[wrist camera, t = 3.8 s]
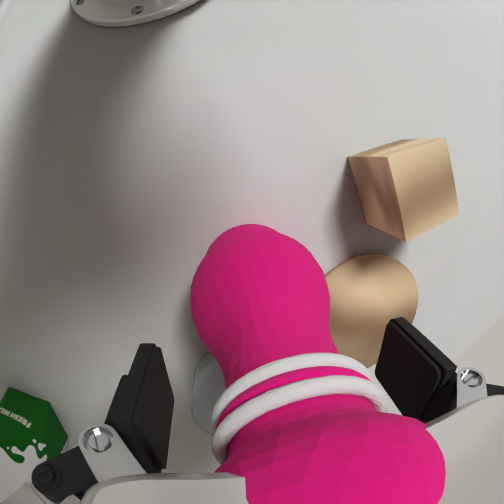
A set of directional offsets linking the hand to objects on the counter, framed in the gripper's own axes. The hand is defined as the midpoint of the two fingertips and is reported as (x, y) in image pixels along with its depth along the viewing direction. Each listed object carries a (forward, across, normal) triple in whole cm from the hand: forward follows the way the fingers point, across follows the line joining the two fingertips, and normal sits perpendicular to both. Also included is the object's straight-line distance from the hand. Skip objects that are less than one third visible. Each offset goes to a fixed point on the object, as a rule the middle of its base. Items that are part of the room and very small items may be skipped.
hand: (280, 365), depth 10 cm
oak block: (+9, -10, -7) cm, 15 cm away
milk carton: (+10, +27, +17) cm, 34 cm away
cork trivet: (+9, -9, +4) cm, 14 cm away
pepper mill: (+9, 0, -1) cm, 9 cm away
